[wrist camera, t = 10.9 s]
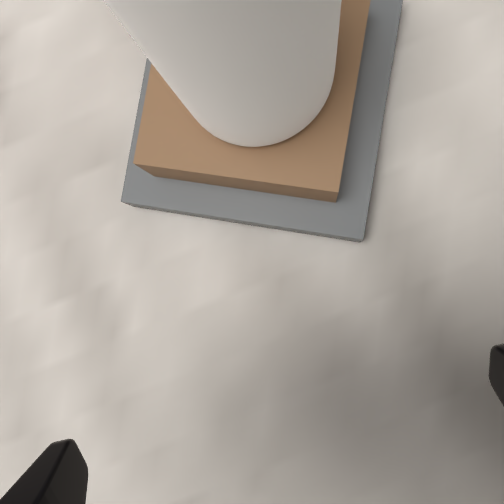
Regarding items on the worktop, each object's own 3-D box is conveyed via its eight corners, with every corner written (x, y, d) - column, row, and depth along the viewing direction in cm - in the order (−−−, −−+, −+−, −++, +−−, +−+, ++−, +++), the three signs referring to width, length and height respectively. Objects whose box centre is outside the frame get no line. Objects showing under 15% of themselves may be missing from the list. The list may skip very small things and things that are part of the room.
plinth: (398, 6, 22) (417, -54, 18) (360, 242, 21) (369, 234, 17) (172, -10, 24) (143, -68, 20) (133, 206, 23) (95, 191, 19)
